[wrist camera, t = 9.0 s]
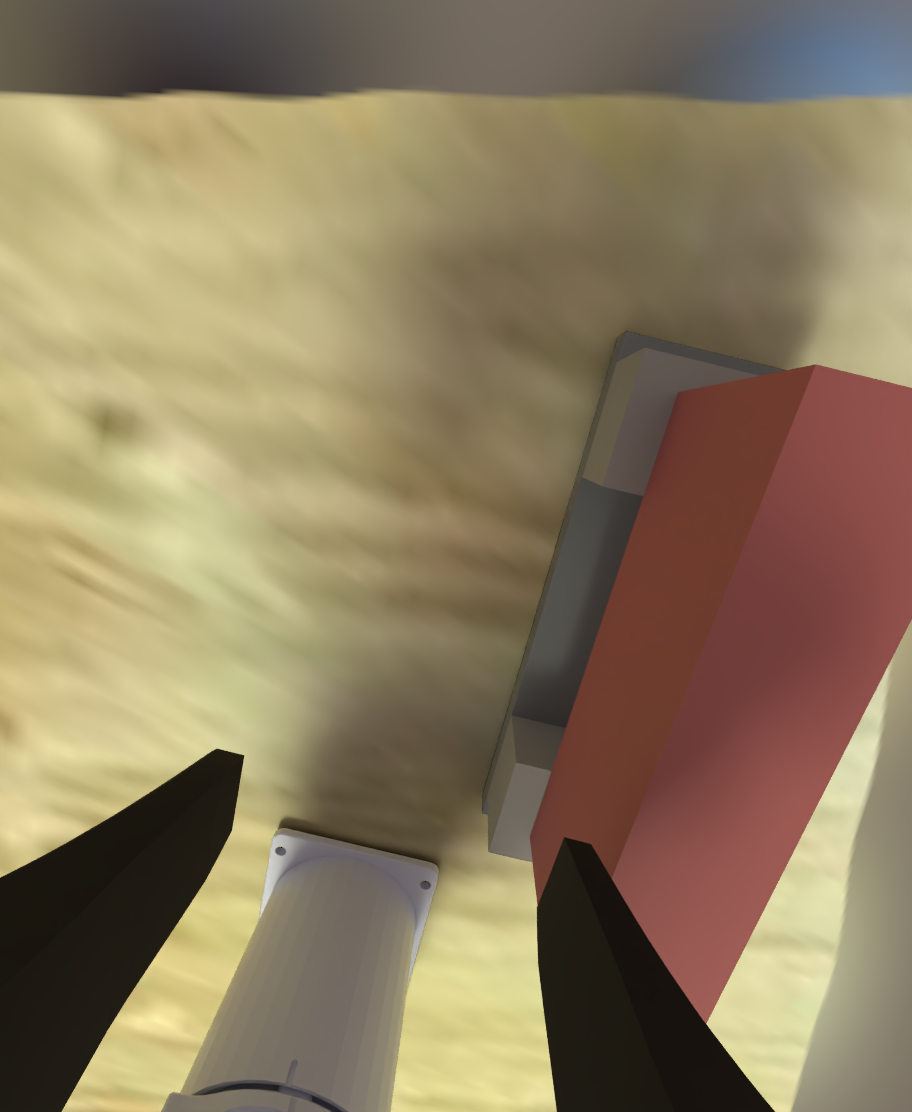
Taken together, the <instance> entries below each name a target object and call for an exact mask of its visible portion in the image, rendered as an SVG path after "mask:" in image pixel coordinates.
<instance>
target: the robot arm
mask: <svg viewBox="0 0 912 1112" xmlns="http://www.w3.org/2000/svg"><path fill="white" fill-rule="evenodd" d="M243 760H244V755H240V754H236V753H232V752H228V751H224V750H221V749H215V750H214V751H212V752H210V753H209V754H207V755H206V756H204V757H203V758H201V759H200V760H198V761H197V762H195V763H194V764H192V765H191V766H189V767H188V768H186V769H185V770H183V771H182V772H180V773H179V774H178V775H176V776H175V777H173V778H171V779H170V780H168V781H167V782H165V783H164V784H162V785H161V786H159V787H158V788H156V789H155V790H153V791H152V792H150V793H149V794H147V795H145V796H144V797H142V798H141V799H139V800H137V801H136V802H134V803H133V804H131V805H130V806H128V807H126V808H125V809H123V810H122V811H120V812H118V813H117V814H115V815H114V816H112V817H110V818H109V819H107V820H105V821H103V822H102V823H100V824H98V825H97V826H95V827H93V828H91V829H90V830H88V831H86V832H85V833H83V834H81V835H79V836H78V837H76V838H74V839H72V840H71V841H69V842H67V843H66V844H64V845H62V846H60V847H58V848H56V849H55V850H53V851H51V852H49V853H47V854H45V855H44V856H42V857H40V858H38V859H36V860H34V861H32V862H30V863H28V864H27V865H25V866H23V867H21V868H19V869H17V870H15V871H13V872H11V873H9V874H7V875H5V876H3V877H1V878H0V1112H62V1110H63V1108H64V1106H65V1104H66V1103H67V1101H68V1099H69V1097H70V1096H71V1094H72V1092H73V1090H74V1089H75V1087H76V1085H77V1083H78V1082H79V1080H80V1078H81V1076H82V1074H83V1073H84V1071H85V1069H86V1067H87V1066H88V1064H89V1062H90V1060H91V1059H92V1057H93V1055H94V1053H95V1051H96V1050H97V1048H98V1046H99V1044H100V1043H101V1041H102V1039H103V1037H104V1036H105V1034H106V1032H107V1030H108V1029H109V1027H110V1026H111V1024H112V1022H113V1021H114V1019H115V1018H116V1016H117V1014H118V1013H119V1011H120V1010H121V1008H122V1006H123V1005H124V1003H125V1001H126V1000H127V998H128V997H129V995H130V994H131V992H132V991H133V989H134V988H135V986H136V985H137V983H138V982H139V980H140V979H141V977H142V976H143V974H144V973H145V971H146V970H147V968H148V967H149V965H150V964H151V962H152V961H153V959H154V958H155V956H156V955H157V953H158V952H159V950H160V949H161V947H162V946H163V944H164V943H165V941H166V940H167V938H168V937H169V935H170V934H171V932H172V931H173V929H174V928H175V926H176V925H177V923H178V922H179V920H180V919H181V917H182V916H183V914H184V913H185V911H186V910H187V908H188V906H189V905H190V903H191V902H192V900H193V899H194V897H195V896H196V894H197V893H198V891H199V890H200V888H201V887H202V885H203V883H204V882H205V880H206V879H207V877H208V875H209V873H210V871H211V869H212V867H213V866H214V864H215V862H216V860H217V858H218V856H219V854H220V852H221V850H222V849H223V847H224V845H225V843H226V841H227V839H228V837H229V835H230V833H231V831H232V826H233V820H234V814H235V808H236V802H237V796H238V790H239V784H240V778H241V772H242V766H243ZM280 847H283V848H285V849H282V848H280ZM438 875H439V869H438V867H437V866H436V865H435V864H433V863H431V862H427V861H423V860H419V859H414V858H410V857H406V856H402V855H397V854H393V853H389V852H385V851H380V850H376V849H372V848H368V847H363V846H359V845H355V844H351V843H346V842H342V841H338V840H334V839H329V838H325V837H321V836H317V835H313V834H308V833H304V832H300V831H296V830H291V829H287V828H281V829H278V830H277V831H276V832H275V834H274V836H273V839H272V843H271V849H270V855H269V861H268V867H267V873H266V879H265V885H264V890H263V896H262V902H261V908H260V914H259V920H258V924H257V926H256V928H255V930H254V932H253V935H252V937H251V939H250V941H249V943H248V945H247V948H246V950H245V952H244V954H243V956H242V959H241V961H240V963H239V965H238V967H237V970H236V972H235V974H234V976H233V978H232V981H231V983H230V985H229V987H228V989H227V992H226V994H225V996H224V998H223V1000H222V1002H221V1005H220V1007H219V1009H218V1011H217V1013H216V1016H215V1018H214V1020H213V1022H212V1024H211V1027H210V1029H209V1031H208V1033H207V1035H206V1038H205V1040H204V1042H203V1044H202V1046H201V1048H200V1051H199V1053H198V1055H197V1057H196V1059H195V1062H194V1064H193V1066H192V1068H191V1070H190V1073H189V1075H188V1077H187V1079H186V1081H185V1084H184V1086H183V1088H182V1090H181V1092H180V1093H175V1092H173V1093H171V1094H169V1096H168V1098H167V1100H166V1102H165V1105H164V1107H163V1109H162V1111H161V1112H390V1111H391V1104H392V1097H393V1089H394V1082H395V1074H396V1067H397V1060H398V1052H399V1045H400V1037H401V1030H402V1022H403V1015H404V1008H405V1000H406V993H407V987H408V984H409V980H410V977H411V973H412V970H413V966H414V962H415V959H416V955H417V952H418V948H419V945H420V941H421V938H422V934H423V931H424V927H425V924H426V920H427V916H428V913H429V909H430V906H431V902H432V899H433V895H434V892H435V888H436V885H437V881H438ZM424 881H428V882H424ZM537 942H538V966H539V974H540V983H541V991H542V999H543V1007H544V1015H545V1023H546V1030H547V1038H548V1046H549V1054H550V1061H551V1069H552V1077H553V1085H554V1092H555V1100H556V1108H557V1112H775V1111H774V1110H773V1109H772V1108H771V1106H770V1105H769V1104H768V1103H767V1102H766V1100H765V1099H764V1098H763V1097H762V1095H761V1094H760V1093H759V1092H758V1091H757V1089H756V1088H755V1087H754V1086H753V1084H752V1083H751V1082H750V1081H749V1079H748V1078H747V1077H746V1076H745V1074H744V1073H743V1072H742V1070H741V1069H740V1068H739V1067H738V1065H737V1064H736V1063H735V1061H734V1060H733V1059H732V1057H731V1056H730V1055H729V1054H728V1052H727V1051H726V1050H725V1048H724V1047H723V1046H722V1044H721V1043H720V1042H719V1040H718V1039H717V1038H716V1037H715V1035H714V1034H713V1033H712V1031H711V1030H710V1029H709V1027H708V1026H707V1024H706V1023H705V1022H704V1020H703V1019H702V1018H701V1016H700V1015H699V1013H698V1012H697V1011H696V1009H695V1008H694V1006H693V1005H692V1004H691V1002H690V1001H689V999H688V998H687V996H686V995H685V993H684V992H683V990H682V989H681V988H680V986H679V985H678V983H677V982H676V980H675V979H674V977H673V976H672V974H671V973H670V972H669V970H668V968H667V967H666V965H665V964H664V962H663V961H662V959H661V958H660V956H659V955H658V953H657V952H656V950H655V949H654V947H653V945H652V944H651V942H650V941H649V939H648V938H647V936H646V934H645V933H644V931H643V930H642V928H641V926H640V925H639V923H638V922H637V920H636V918H635V917H634V915H633V913H632V912H631V910H630V908H629V907H628V905H627V903H626V902H625V900H624V898H623V897H622V895H621V893H620V892H619V890H618V888H617V887H616V885H615V883H614V882H613V880H612V878H611V877H610V875H609V873H608V871H607V870H606V868H605V866H604V865H603V863H602V861H601V860H600V858H599V856H598V855H597V853H596V851H595V850H594V848H593V846H592V845H591V844H589V843H585V842H582V841H578V840H574V839H570V838H566V837H564V839H563V841H562V844H561V847H560V849H559V852H558V854H557V857H556V859H555V862H554V865H553V867H552V870H551V872H550V875H549V878H548V880H547V883H546V885H545V888H544V891H543V893H542V896H541V898H540V901H539V904H538V906H537Z"/></svg>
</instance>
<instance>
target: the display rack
mask: <svg viewBox="0 0 912 1112" xmlns="http://www.w3.org/2000/svg"><path fill="white" fill-rule="evenodd" d="M781 371H786V370H783V369H779V368H774V367H770V366H766V365H762V364H758V363H754V362H750V361H746V360H742V359H738V358H734V357H730V356H725V355H721V354H717V353H713V352H709V351H705V350H701V349H697V348H693V347H689V346H685V345H681V344H676V343H672V342H668V341H664V340H660V339H656V338H652V337H648V336H644V335H640V334H636V333H632V332H627V331H626V332H624V333H623V334H621V335H620V336H618V339H617V342H616V345H615V349H614V352H613V355H612V359H611V362H610V366H609V369H608V372H607V376H606V379H605V383H604V386H603V389H602V393H601V396H600V399H599V403H598V406H597V410H596V413H595V416H594V420H593V423H592V426H591V430H590V433H589V437H588V440H587V443H586V447H585V450H584V454H583V457H582V460H581V464H580V467H579V470H578V474H577V477H576V481H575V484H574V487H573V491H572V494H571V498H570V501H569V504H568V508H567V511H566V514H565V518H564V521H563V525H562V528H561V531H560V535H559V538H558V542H557V545H556V548H555V552H554V555H553V558H552V562H551V565H550V569H549V572H548V575H547V579H546V582H545V585H544V589H543V592H542V596H541V599H540V602H539V606H538V609H537V613H536V616H535V619H534V623H533V626H532V629H531V633H530V636H529V640H528V643H527V646H526V650H525V653H524V657H523V660H522V663H521V667H520V670H519V673H518V677H517V680H516V684H515V687H514V690H513V694H512V697H511V700H510V704H509V707H508V711H507V714H506V717H505V721H504V724H503V728H502V731H501V734H500V738H499V741H498V744H497V748H496V751H495V755H494V758H493V761H492V765H491V768H490V772H489V775H488V778H487V782H486V785H485V788H484V792H483V795H482V813H483V814H487V815H488V852H491V853H495V854H499V855H503V856H508V857H512V858H516V859H520V860H525V861H529V862H533V861H532V853H531V844H530V834H531V831H532V828H533V825H534V822H535V819H536V816H537V813H538V810H539V807H540V804H541V801H542V798H543V795H544V792H545V789H546V787H547V784H548V781H549V778H550V775H551V772H552V769H553V766H554V763H555V760H556V757H557V754H558V751H559V748H560V745H561V742H562V739H563V736H564V733H565V730H566V727H567V724H568V721H569V718H570V715H571V712H572V709H573V706H574V703H575V700H576V697H577V694H578V691H579V688H580V685H581V682H582V679H583V676H584V673H585V670H586V667H587V664H588V661H589V658H590V655H591V652H592V649H593V646H594V643H595V640H596V637H597V634H598V631H599V628H600V625H601V622H602V619H603V616H604V613H605V610H606V607H607V604H608V601H609V598H610V595H611V592H612V589H613V586H614V583H615V580H616V577H617V574H618V571H619V568H620V565H621V562H622V559H623V556H624V553H625V550H626V547H627V544H628V541H629V538H630V535H631V532H632V529H633V526H634V523H635V520H636V517H637V514H638V511H639V508H640V505H641V502H642V499H643V496H644V493H645V490H646V487H647V484H648V481H649V478H650V475H651V472H652V469H653V466H654V463H655V460H656V457H657V454H658V451H659V448H660V445H661V442H662V439H663V436H664V433H665V430H666V427H667V424H668V421H669V418H670V415H671V412H672V409H673V406H674V403H675V400H676V397H677V394H678V392H681V391H686V390H691V389H696V388H701V387H706V386H711V385H716V384H721V383H726V382H731V381H736V380H741V379H746V378H751V377H756V376H761V375H766V374H771V373H776V372H781Z"/></svg>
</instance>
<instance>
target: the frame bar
mask: <svg viewBox="0 0 912 1112" xmlns="http://www.w3.org/2000/svg"><path fill="white" fill-rule="evenodd" d="M911 620H912V388H909V387H905V386H901V385H897V384H893V383H889V382H885V381H881V380H877V379H873V378H869V377H864V376H860V375H856V374H852V373H848V372H844V371H840V370H836V369H832V368H828V367H824V366H820V365H811V366H806V367H801V368H796V369H791V370H786V371H781V372H776V373H771V374H766V375H761V376H756V377H751V378H746V379H741V380H736V381H731V382H726V383H721V384H716V385H711V386H706V387H701V388H696V389H691V390H686V391H681V392H678V394H677V397H676V400H675V403H674V406H673V409H672V412H671V415H670V418H669V421H668V424H667V427H666V430H665V433H664V436H663V439H662V442H661V445H660V448H659V451H658V454H657V457H656V460H655V463H654V466H653V469H652V472H651V475H650V478H649V481H648V484H647V487H646V490H645V493H644V496H643V499H642V502H641V505H640V508H639V511H638V514H637V517H636V520H635V523H634V526H633V529H632V532H631V535H630V538H629V541H628V544H627V547H626V550H625V553H624V556H623V559H622V562H621V565H620V568H619V571H618V574H617V577H616V580H615V583H614V586H613V589H612V592H611V595H610V598H609V601H608V604H607V607H606V610H605V613H604V616H603V619H602V622H601V625H600V628H599V631H598V634H597V637H596V640H595V643H594V646H593V649H592V652H591V655H590V658H589V661H588V664H587V667H586V670H585V673H584V676H583V679H582V682H581V685H580V688H579V691H578V694H577V697H576V700H575V703H574V706H573V709H572V712H571V715H570V718H569V721H568V724H567V727H566V730H565V733H564V736H563V739H562V742H561V745H560V748H559V751H558V754H557V757H556V760H555V763H554V766H553V769H552V772H551V775H550V778H549V781H548V784H547V787H546V789H545V792H544V795H543V798H542V801H541V804H540V807H539V810H538V813H537V816H536V819H535V822H534V825H533V828H532V831H531V834H530V844H531V853H532V861H533V870H534V878H535V887H536V896H537V904H539V901H540V898H541V896H542V893H543V891H544V888H545V885H546V883H547V880H548V878H549V875H550V872H551V870H552V867H553V865H554V862H555V859H556V857H557V854H558V852H559V849H560V847H561V844H562V841H563V839H564V837H566V838H570V839H574V840H578V841H582V842H585V843H589V844H591V845H592V846H593V848H594V850H595V851H596V853H597V855H598V856H599V858H600V860H601V861H602V863H603V865H604V866H605V868H606V870H607V871H608V873H609V875H610V877H611V878H612V880H613V882H614V883H615V885H616V887H617V888H618V890H619V892H620V893H621V895H622V897H623V898H624V900H625V902H626V903H627V905H628V907H629V908H630V910H631V912H632V913H633V915H634V917H635V918H636V920H637V922H638V923H639V925H640V926H641V928H642V930H643V931H644V933H645V934H646V936H647V938H648V939H649V941H650V942H651V944H652V945H653V947H654V949H655V950H656V952H657V953H658V955H659V956H660V958H661V959H662V961H663V962H664V964H665V965H666V967H667V968H668V970H669V972H670V973H671V974H672V976H673V977H674V979H675V980H676V982H677V983H678V985H679V986H680V988H681V989H682V990H683V992H684V993H685V995H686V996H687V998H688V999H689V1001H690V1002H691V1004H692V1005H693V1006H694V1008H695V1009H696V1011H697V1012H698V1013H699V1015H700V1016H701V1018H702V1019H703V1020H704V1022H705V1023H707V1021H708V1019H709V1017H710V1015H711V1013H712V1011H713V1009H714V1007H715V1005H716V1003H717V1001H718V999H719V997H720V995H721V993H722V991H723V990H724V988H725V986H726V984H727V982H728V980H729V978H730V976H731V974H732V972H733V970H734V968H735V966H736V964H737V962H738V960H739V958H740V956H741V954H742V952H743V950H744V948H745V946H746V944H747V942H748V940H749V938H750V936H751V934H752V932H753V930H754V929H755V927H756V925H757V923H758V921H759V919H760V917H761V915H762V913H763V911H764V909H765V907H766V905H767V903H768V901H769V899H770V897H771V895H772V893H773V891H774V889H775V887H776V885H777V883H778V881H779V879H780V877H781V875H782V873H783V871H784V869H785V868H786V866H787V864H788V862H789V860H790V858H791V856H792V854H793V852H794V850H795V848H796V846H797V844H798V842H799V840H800V838H801V836H802V834H803V832H804V830H805V828H806V826H807V824H808V822H809V820H810V818H811V816H812V814H813V812H814V810H815V808H816V807H817V805H818V803H819V801H820V799H821V797H822V795H823V793H824V791H825V789H826V787H827V785H828V783H829V781H830V779H831V777H832V775H833V773H834V771H835V769H836V767H837V765H838V763H839V761H840V759H841V757H842V755H843V753H844V751H845V749H846V747H847V746H848V744H849V742H850V740H851V738H852V736H853V734H854V732H855V730H856V728H857V726H858V724H859V722H860V720H861V718H862V716H863V714H864V712H865V710H866V708H867V706H868V704H869V702H870V700H871V698H872V696H873V694H874V692H875V690H876V688H877V686H878V685H879V683H880V681H881V679H882V677H883V675H884V673H885V671H886V669H887V667H888V665H889V663H890V661H891V659H892V657H893V655H894V653H895V651H896V649H897V647H898V645H899V643H900V641H901V639H902V637H903V635H904V633H905V631H906V629H907V627H908V625H909V623H910V622H911Z"/></svg>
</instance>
